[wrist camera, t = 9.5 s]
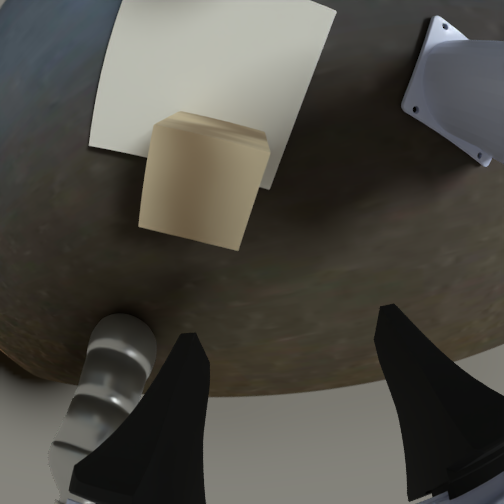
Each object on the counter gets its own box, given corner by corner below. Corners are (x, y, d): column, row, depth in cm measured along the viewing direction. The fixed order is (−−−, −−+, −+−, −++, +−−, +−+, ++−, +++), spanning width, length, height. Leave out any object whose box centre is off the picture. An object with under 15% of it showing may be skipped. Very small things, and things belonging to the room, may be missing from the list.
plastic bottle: (95, 332, 27) (38, 509, 10) (106, 292, 23) (27, 512, 7) (150, 357, 29) (116, 537, 12) (171, 322, 25) (131, 548, 9)
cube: (264, 131, 16) (270, 152, 12) (240, 207, 18) (238, 250, 14) (180, 110, 15) (153, 124, 11) (163, 188, 18) (138, 226, 13)
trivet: (333, 13, 12) (336, 11, 12) (268, 185, 18) (269, 189, 18) (139, -28, 10) (135, -31, 9) (94, 142, 16) (88, 145, 16)
